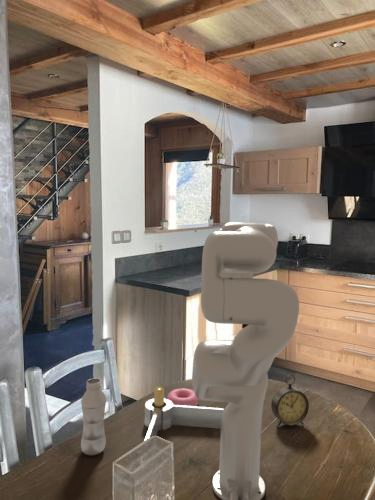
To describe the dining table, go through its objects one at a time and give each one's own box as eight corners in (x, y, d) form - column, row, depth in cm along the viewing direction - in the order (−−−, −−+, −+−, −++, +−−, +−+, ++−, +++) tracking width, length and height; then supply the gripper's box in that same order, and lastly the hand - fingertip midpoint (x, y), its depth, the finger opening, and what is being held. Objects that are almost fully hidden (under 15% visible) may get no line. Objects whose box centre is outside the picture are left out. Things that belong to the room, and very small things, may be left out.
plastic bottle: (76, 450, 112) (76, 380, 110) (99, 441, 116) (99, 373, 114) (87, 462, 107) (87, 388, 105) (110, 452, 111) (110, 382, 109)
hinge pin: (162, 425, 125) (163, 391, 124) (152, 425, 126) (153, 390, 125) (164, 420, 128) (164, 387, 127) (154, 419, 129) (155, 386, 128)
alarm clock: (275, 431, 124) (278, 379, 122) (268, 421, 129) (270, 372, 128) (308, 427, 127) (311, 376, 125) (299, 418, 132) (302, 369, 130)
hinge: (221, 469, 106) (222, 447, 105) (129, 461, 108) (130, 439, 107) (223, 420, 129) (223, 402, 129) (148, 414, 132) (148, 397, 131)
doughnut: (173, 394, 146) (173, 383, 146) (203, 400, 143) (203, 388, 142) (161, 408, 136) (161, 397, 136) (192, 415, 132) (193, 403, 132)
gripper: (268, 268, 113) (266, 329, 115) (224, 260, 126) (222, 315, 128) (250, 271, 108) (247, 334, 110) (206, 262, 121) (204, 319, 123)
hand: (234, 323), depth 119 cm, fingers open, 9 cm apart
